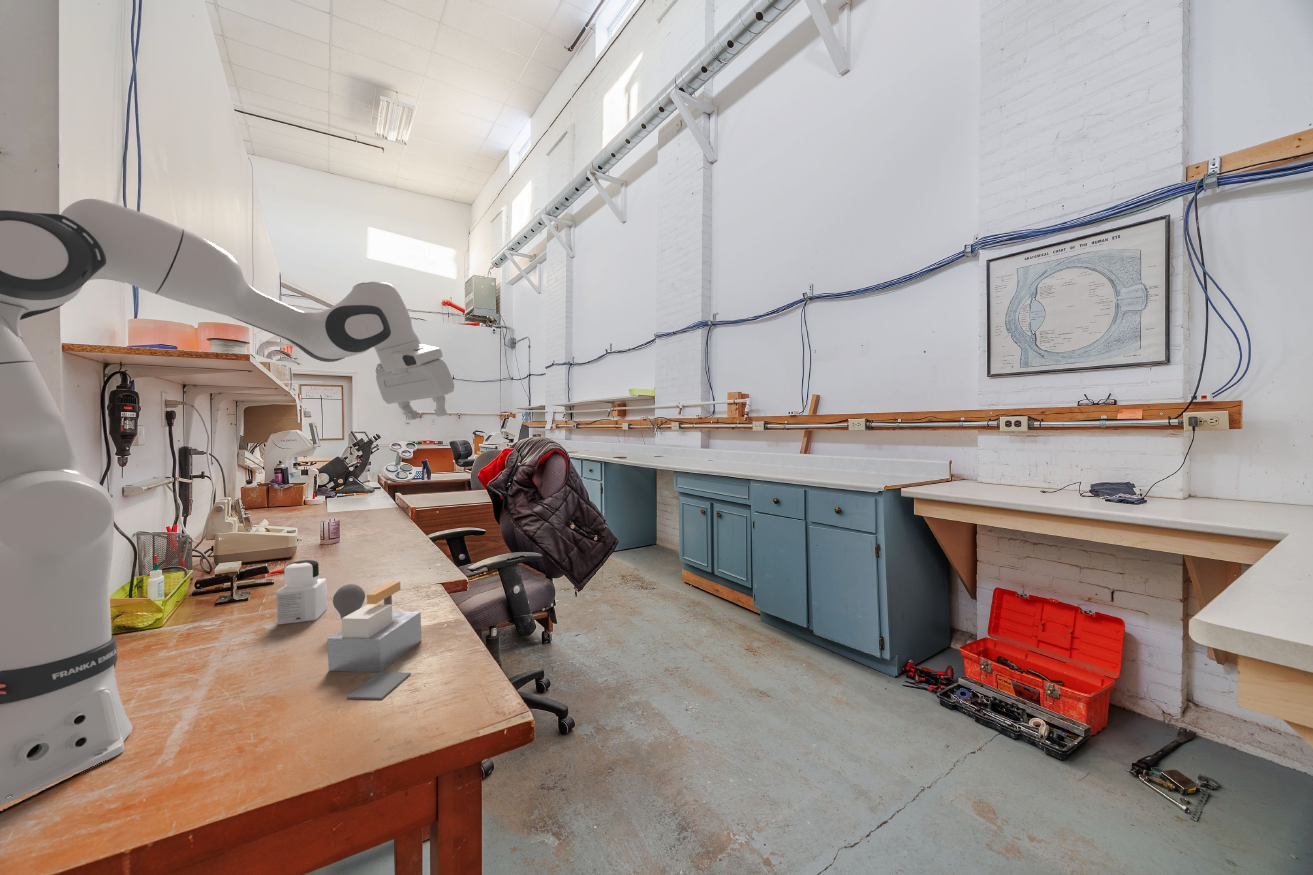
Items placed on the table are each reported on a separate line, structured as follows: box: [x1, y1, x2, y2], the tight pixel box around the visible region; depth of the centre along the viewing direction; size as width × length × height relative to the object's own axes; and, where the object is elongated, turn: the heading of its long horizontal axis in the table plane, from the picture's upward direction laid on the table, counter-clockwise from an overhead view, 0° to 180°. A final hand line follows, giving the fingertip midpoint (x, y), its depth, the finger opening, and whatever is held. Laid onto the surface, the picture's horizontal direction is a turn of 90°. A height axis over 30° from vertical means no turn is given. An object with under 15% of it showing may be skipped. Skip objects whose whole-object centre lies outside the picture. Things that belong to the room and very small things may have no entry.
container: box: [275, 559, 328, 625], centre depth 115 cm, size 8×8×13 cm
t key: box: [366, 580, 401, 606], centre depth 97 cm, size 8×2×6 cm, turn 175°
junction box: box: [327, 610, 422, 673], centre depth 94 cm, size 13×10×6 cm
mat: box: [346, 671, 412, 700], centre depth 83 cm, size 8×6×1 cm
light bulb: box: [332, 583, 366, 620], centre depth 107 cm, size 6×6×10 cm
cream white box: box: [341, 603, 393, 638], centre depth 92 cm, size 7×5×4 cm
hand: (428, 417), depth 110 cm, fingers open, 8 cm apart
